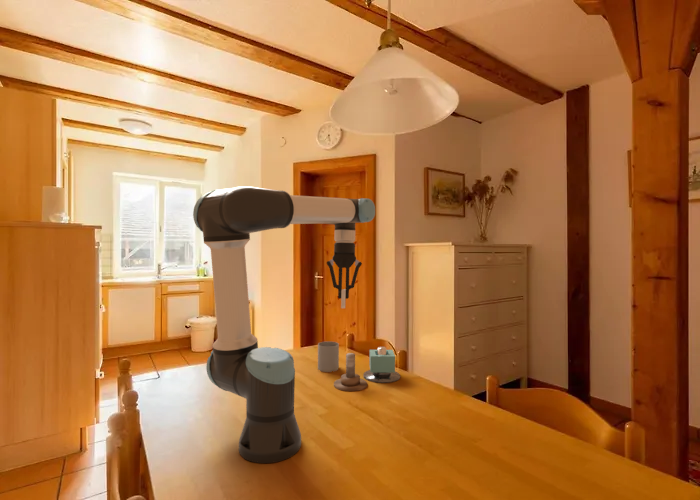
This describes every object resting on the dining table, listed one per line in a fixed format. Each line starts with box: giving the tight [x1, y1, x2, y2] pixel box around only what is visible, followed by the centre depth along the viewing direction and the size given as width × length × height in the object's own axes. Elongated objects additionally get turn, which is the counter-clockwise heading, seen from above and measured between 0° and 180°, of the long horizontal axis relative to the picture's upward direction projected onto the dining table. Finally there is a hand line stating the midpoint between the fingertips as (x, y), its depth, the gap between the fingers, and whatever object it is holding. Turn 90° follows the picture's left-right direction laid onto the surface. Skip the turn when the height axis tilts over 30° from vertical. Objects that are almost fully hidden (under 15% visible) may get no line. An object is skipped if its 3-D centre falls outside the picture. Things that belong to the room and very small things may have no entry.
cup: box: [317, 341, 340, 373], centre depth 155 cm, size 8×8×10 cm
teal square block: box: [369, 349, 396, 373], centre depth 146 cm, size 9×9×6 cm
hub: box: [363, 346, 401, 384], centre depth 146 cm, size 14×14×11 cm
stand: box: [333, 352, 368, 392], centre depth 137 cm, size 12×12×11 cm
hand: (343, 307), depth 137 cm, fingers closed
